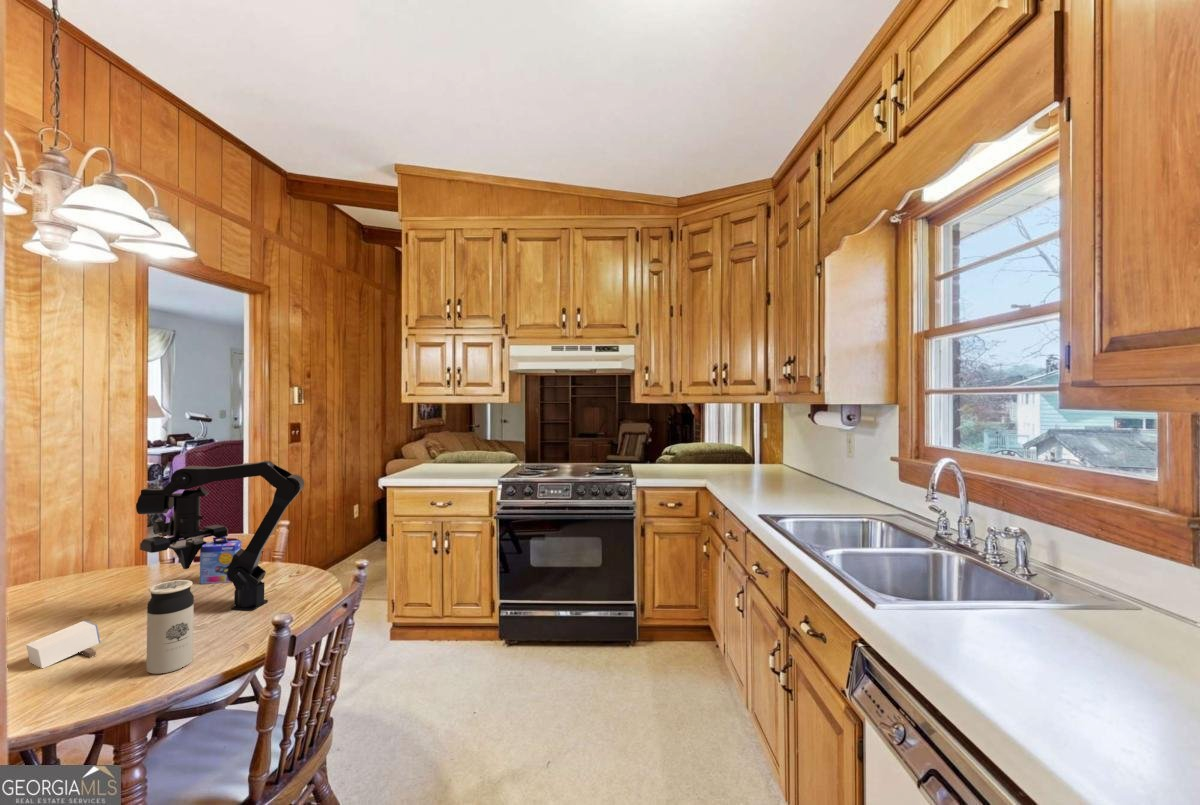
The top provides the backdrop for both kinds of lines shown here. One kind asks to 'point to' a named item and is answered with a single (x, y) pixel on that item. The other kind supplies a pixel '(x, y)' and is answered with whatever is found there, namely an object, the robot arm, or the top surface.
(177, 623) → the beige jar
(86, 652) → the strip
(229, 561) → the ink cartridge box
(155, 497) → the robot arm
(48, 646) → the plain white block
